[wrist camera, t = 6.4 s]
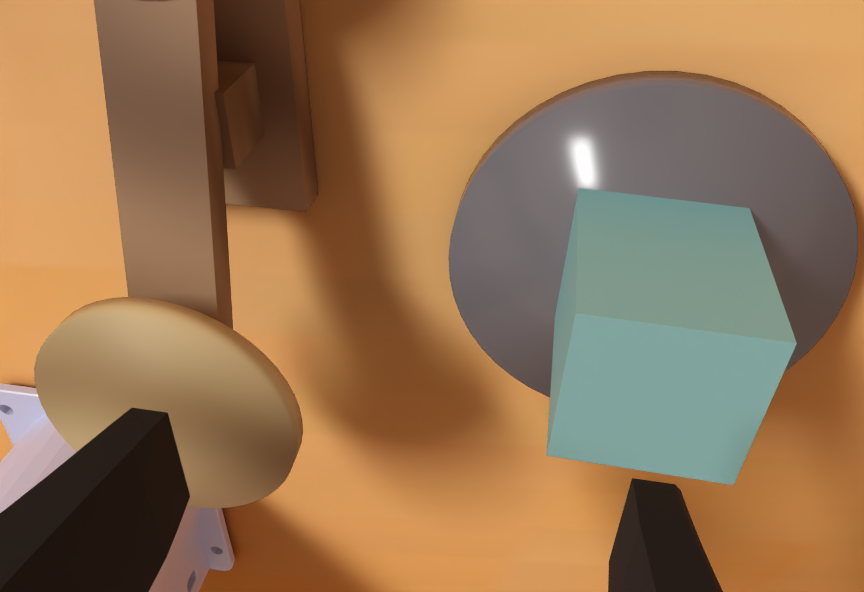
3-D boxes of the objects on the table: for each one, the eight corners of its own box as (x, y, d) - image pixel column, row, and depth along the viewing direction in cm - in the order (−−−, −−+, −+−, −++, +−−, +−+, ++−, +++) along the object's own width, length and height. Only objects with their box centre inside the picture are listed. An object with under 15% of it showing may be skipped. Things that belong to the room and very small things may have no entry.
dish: (780, 410, 22) (788, 435, 21) (450, 371, 23) (445, 393, 23) (912, 86, 16) (929, 103, 15) (459, 57, 17) (452, 72, 17)
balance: (364, 365, 24) (307, 523, 19) (178, 343, 25) (77, 489, 20) (313, -419, 13) (148, -518, 8) (-18, -412, 14) (-348, -497, 9)
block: (704, 338, 20) (733, 485, 16) (555, 317, 20) (546, 455, 16) (749, 208, 17) (796, 343, 13) (578, 187, 18) (575, 313, 14)
